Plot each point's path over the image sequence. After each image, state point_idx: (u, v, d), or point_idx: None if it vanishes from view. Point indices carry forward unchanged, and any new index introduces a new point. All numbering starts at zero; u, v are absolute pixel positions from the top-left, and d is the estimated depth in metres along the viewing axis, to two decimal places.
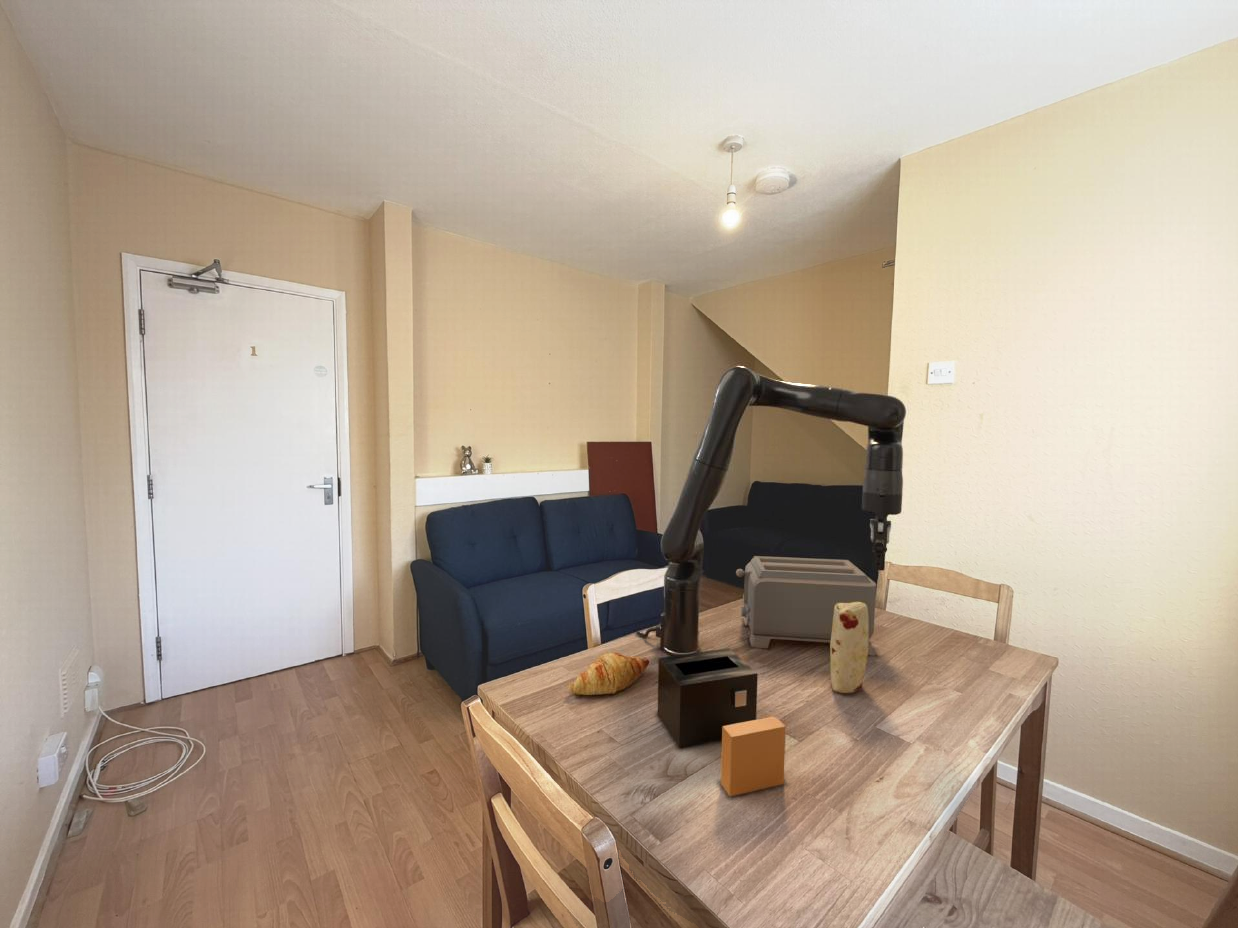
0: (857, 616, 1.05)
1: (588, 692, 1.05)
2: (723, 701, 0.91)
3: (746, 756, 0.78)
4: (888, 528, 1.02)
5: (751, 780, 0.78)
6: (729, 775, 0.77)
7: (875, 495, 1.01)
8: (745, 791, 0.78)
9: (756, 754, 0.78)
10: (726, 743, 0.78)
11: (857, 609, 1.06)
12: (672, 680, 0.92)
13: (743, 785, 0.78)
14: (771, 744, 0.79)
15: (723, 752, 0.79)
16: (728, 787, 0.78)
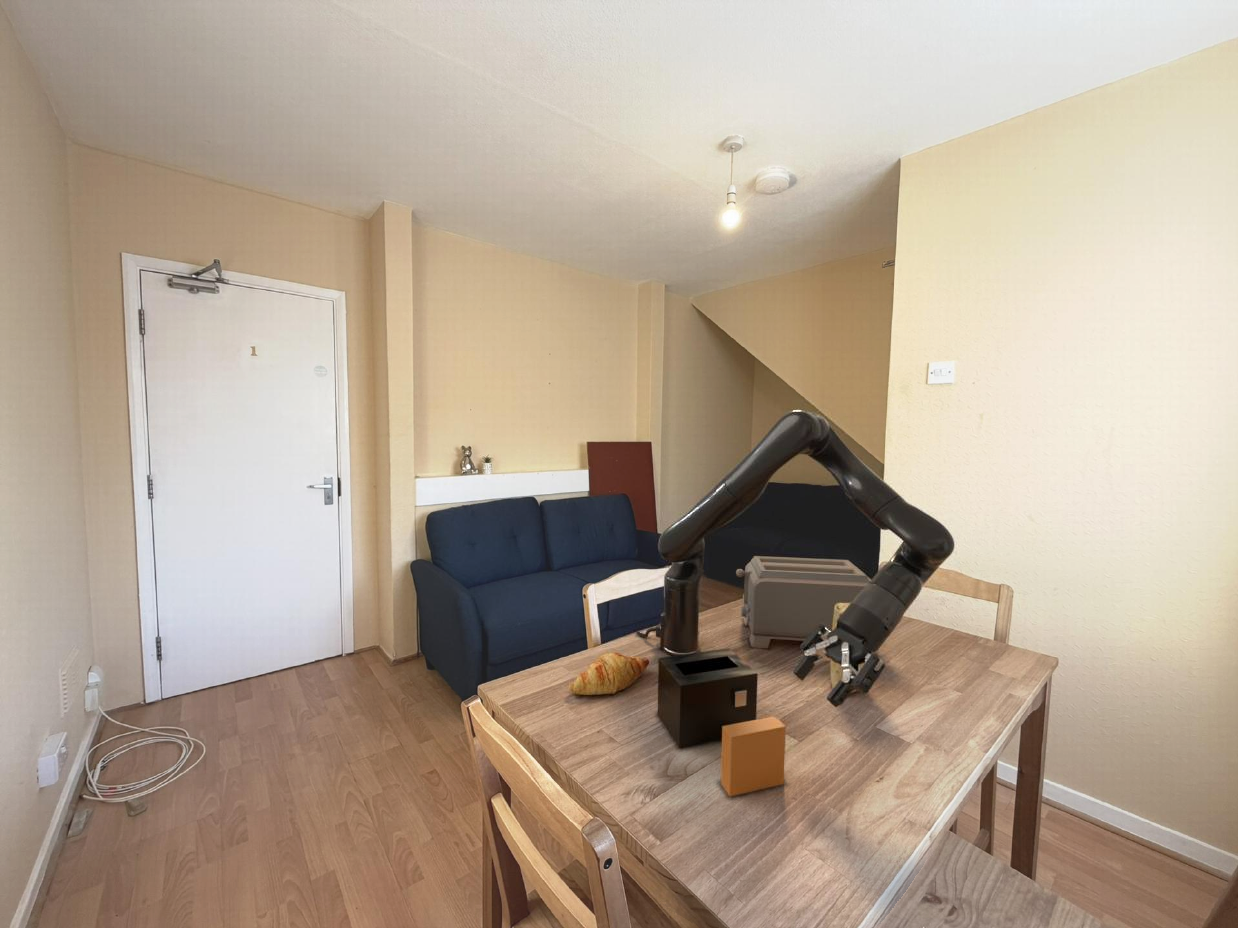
0: None
1: (588, 692, 1.05)
2: (723, 701, 0.91)
3: (746, 756, 0.78)
4: None
5: (751, 780, 0.78)
6: (729, 775, 0.77)
7: (881, 623, 0.81)
8: (745, 791, 0.78)
9: (756, 754, 0.78)
10: (726, 743, 0.78)
11: None
12: (672, 680, 0.92)
13: (743, 785, 0.78)
14: (771, 744, 0.79)
15: (723, 752, 0.79)
16: (728, 787, 0.78)
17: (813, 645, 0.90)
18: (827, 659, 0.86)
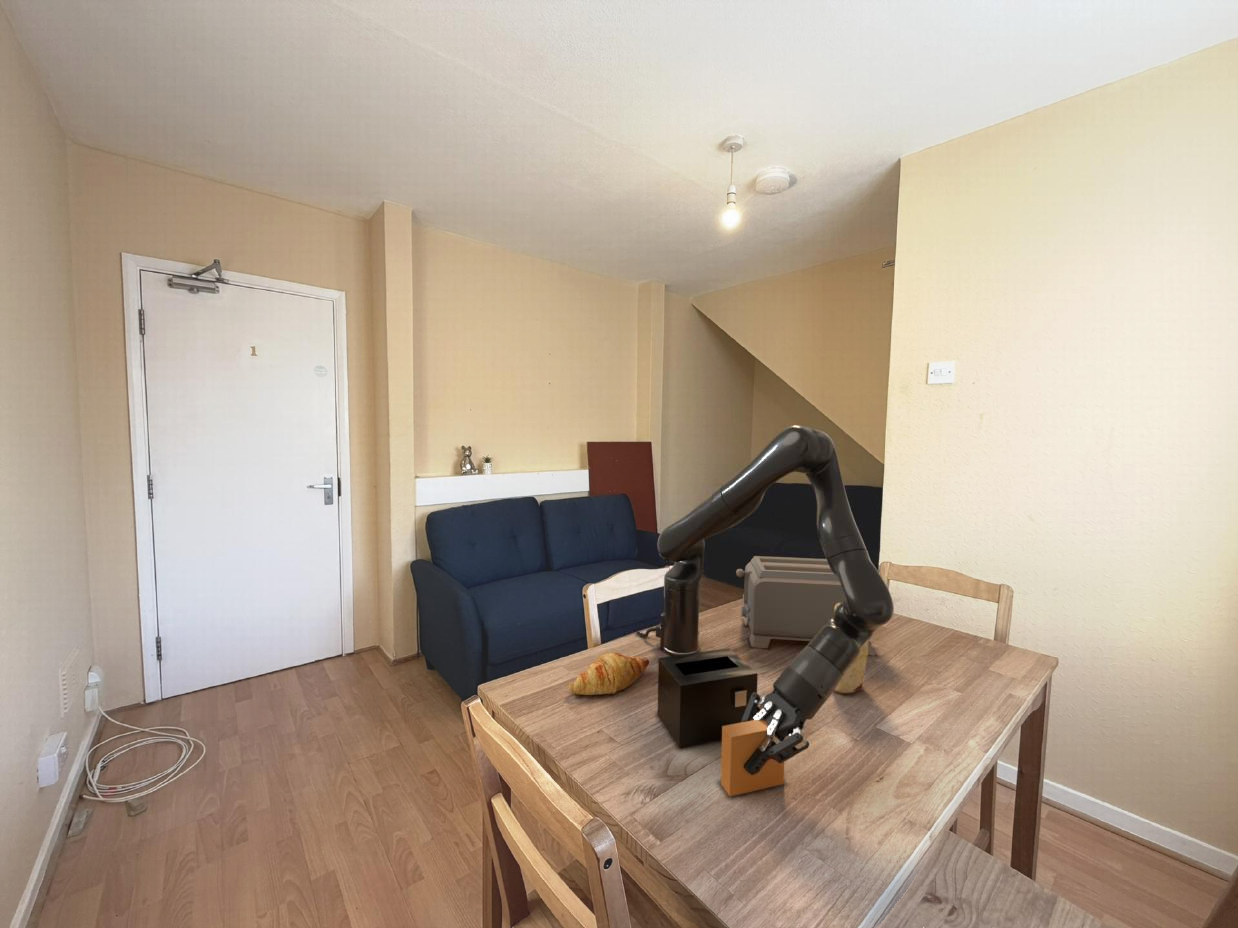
0: None
1: (588, 692, 1.05)
2: (723, 701, 0.91)
3: (746, 756, 0.78)
4: None
5: (751, 780, 0.78)
6: (729, 775, 0.77)
7: (815, 691, 0.78)
8: (745, 791, 0.78)
9: None
10: (726, 743, 0.78)
11: None
12: (672, 680, 0.92)
13: (743, 785, 0.78)
14: (771, 744, 0.79)
15: (723, 752, 0.79)
16: (728, 787, 0.78)
17: (752, 719, 0.85)
18: None
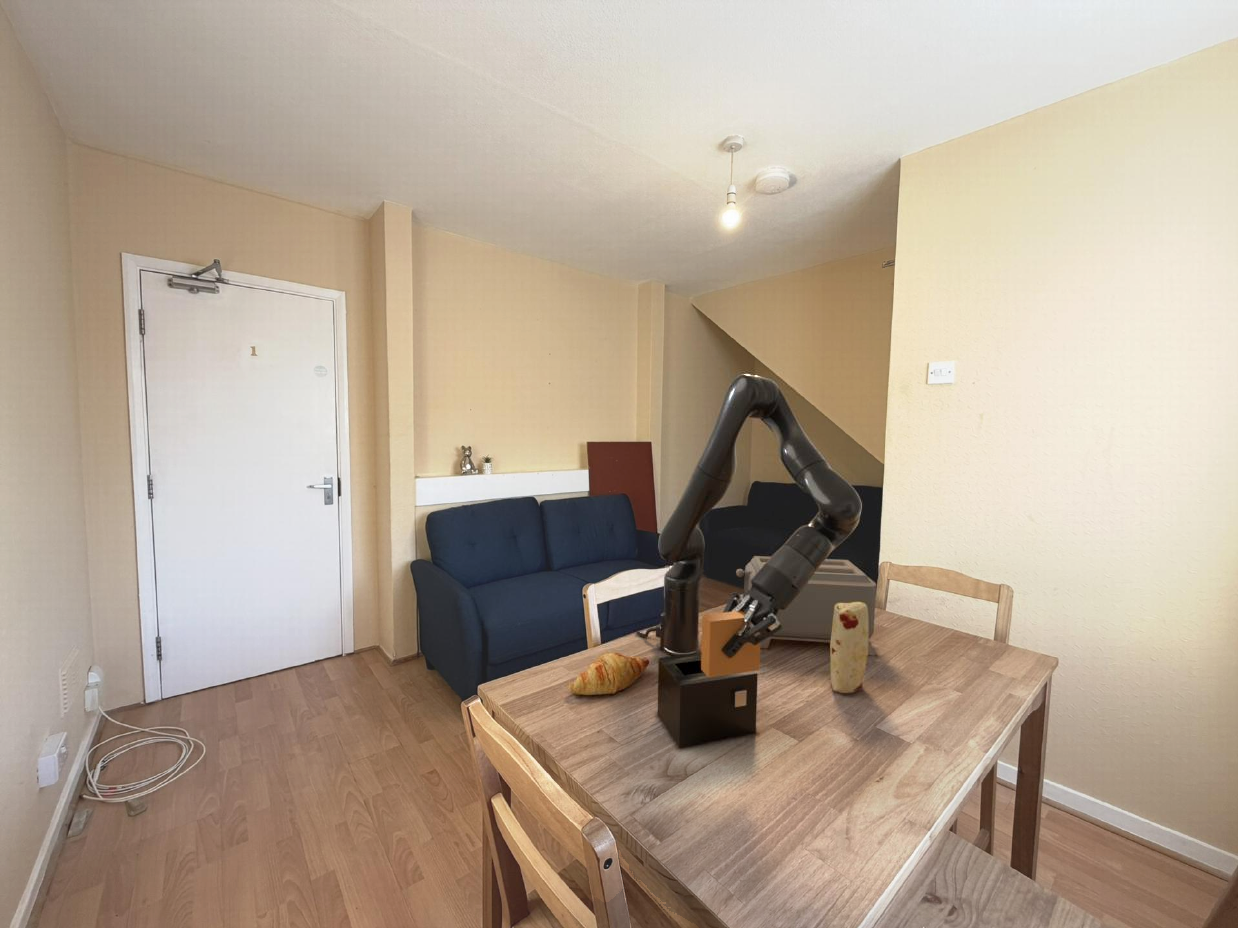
0: (857, 616, 1.05)
1: (588, 692, 1.05)
2: (723, 701, 0.91)
3: (724, 641, 0.84)
4: None
5: (728, 664, 0.84)
6: (708, 658, 0.83)
7: (788, 581, 0.84)
8: (723, 674, 0.84)
9: None
10: (706, 629, 0.84)
11: (857, 609, 1.06)
12: (672, 680, 0.92)
13: (721, 668, 0.84)
14: None
15: (703, 639, 0.85)
16: (707, 669, 0.84)
17: None
18: None
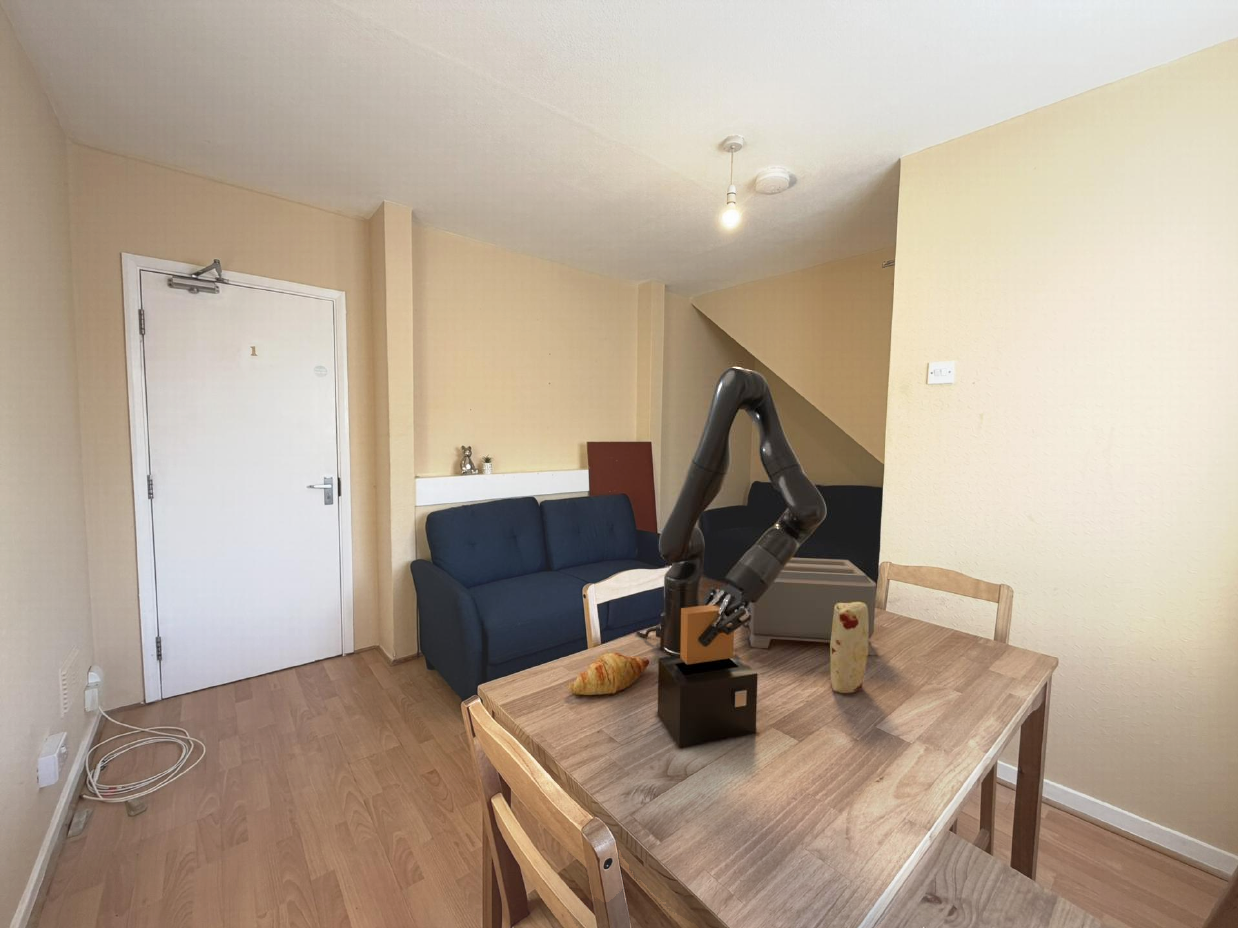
0: (857, 616, 1.05)
1: (588, 692, 1.05)
2: (723, 701, 0.91)
3: (700, 631, 0.93)
4: None
5: (704, 652, 0.93)
6: (686, 646, 0.92)
7: (758, 577, 0.93)
8: (700, 661, 0.93)
9: None
10: (684, 621, 0.93)
11: (857, 609, 1.06)
12: (672, 680, 0.92)
13: (698, 656, 0.93)
14: None
15: (682, 630, 0.94)
16: (685, 657, 0.93)
17: None
18: None
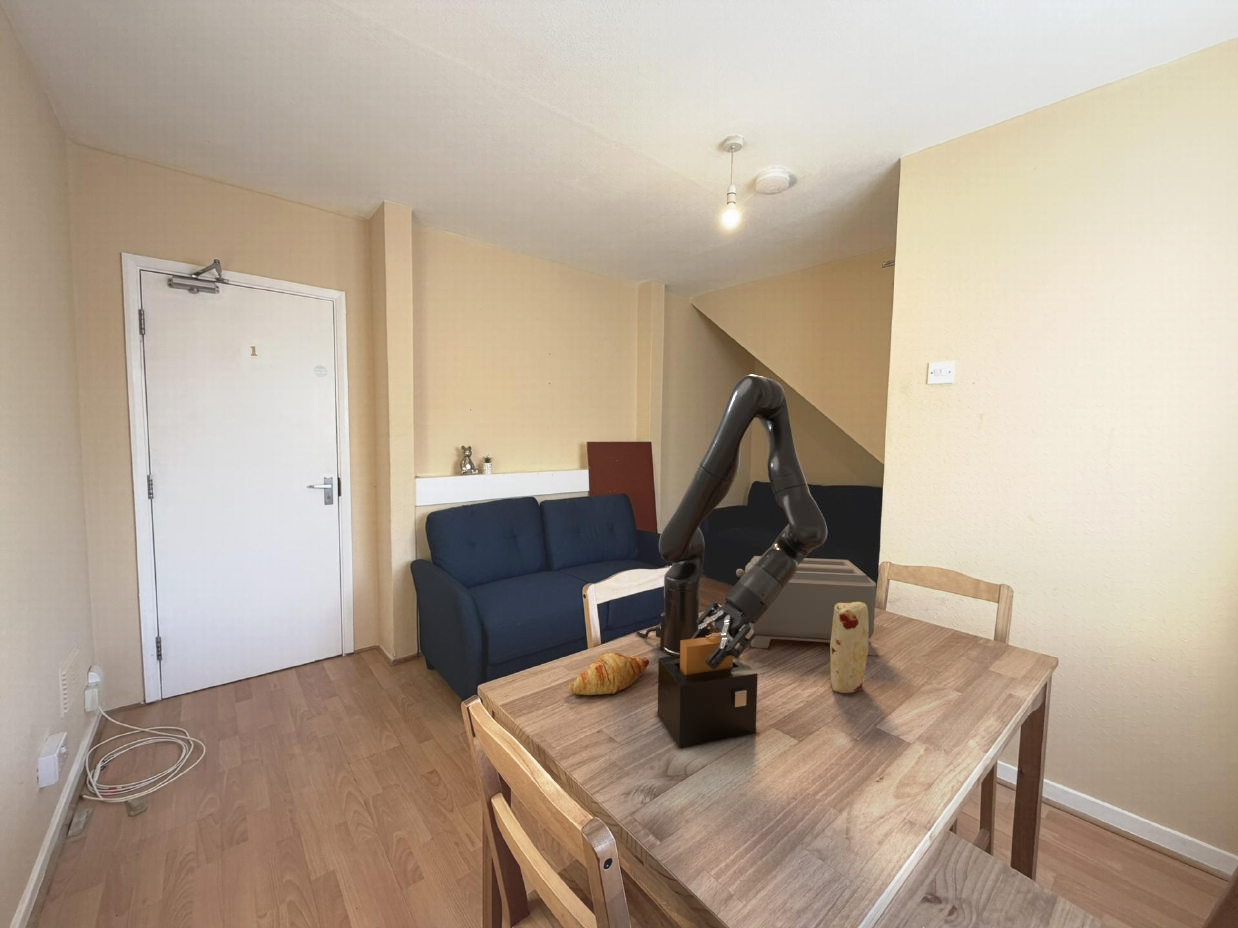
0: (857, 616, 1.05)
1: (588, 692, 1.05)
2: (723, 701, 0.91)
3: (700, 664, 0.93)
4: None
5: None
6: None
7: (757, 598, 0.93)
8: None
9: None
10: (683, 653, 0.94)
11: (857, 609, 1.06)
12: (672, 680, 0.92)
13: None
14: None
15: (681, 662, 0.95)
16: None
17: None
18: (717, 631, 0.99)
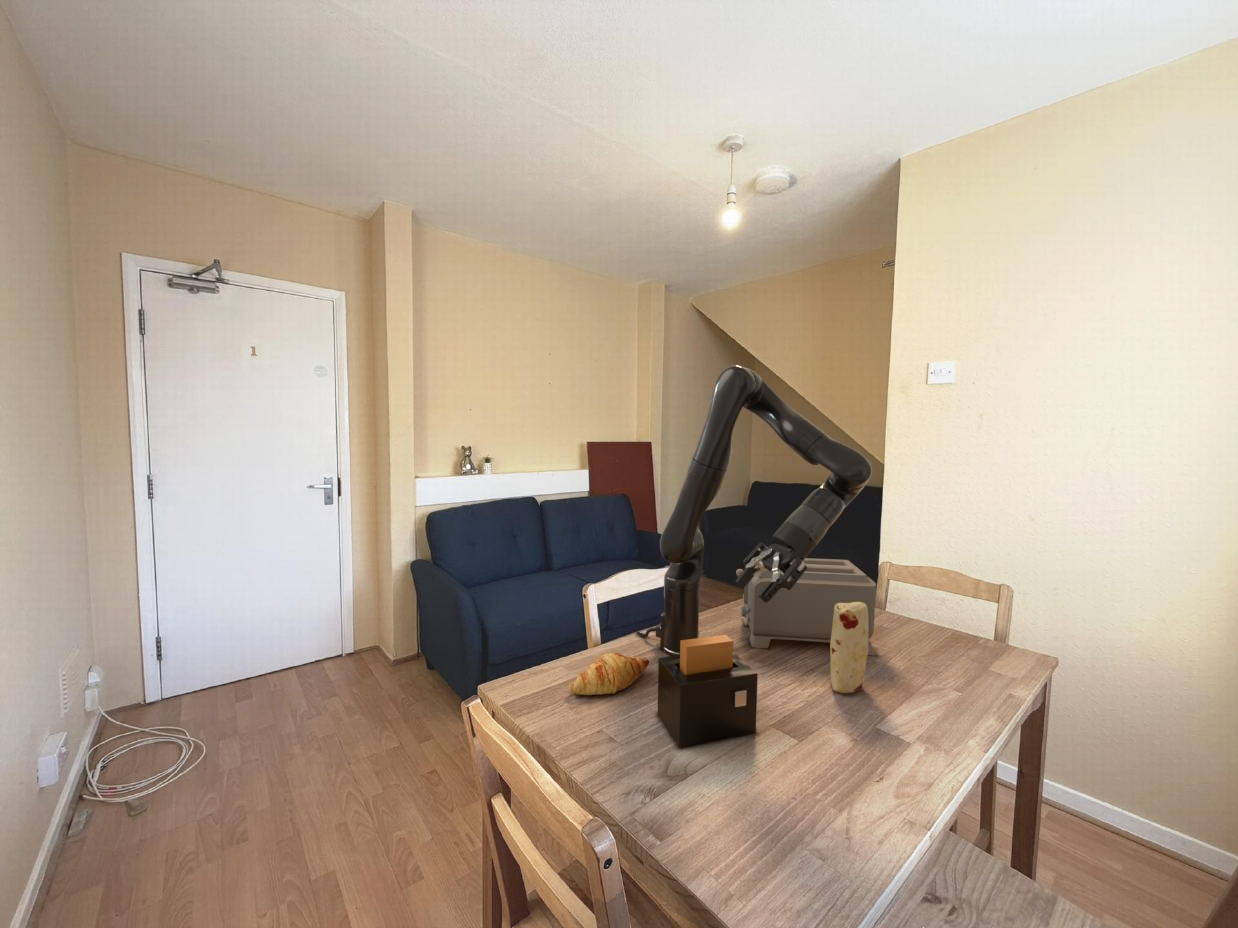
0: (857, 616, 1.05)
1: (588, 692, 1.05)
2: (723, 701, 0.91)
3: (700, 664, 0.93)
4: None
5: None
6: None
7: (806, 535, 0.96)
8: None
9: (707, 662, 0.94)
10: (683, 653, 0.94)
11: (857, 609, 1.06)
12: (672, 680, 0.92)
13: None
14: (721, 655, 0.95)
15: (681, 662, 0.95)
16: None
17: None
18: (764, 570, 1.01)
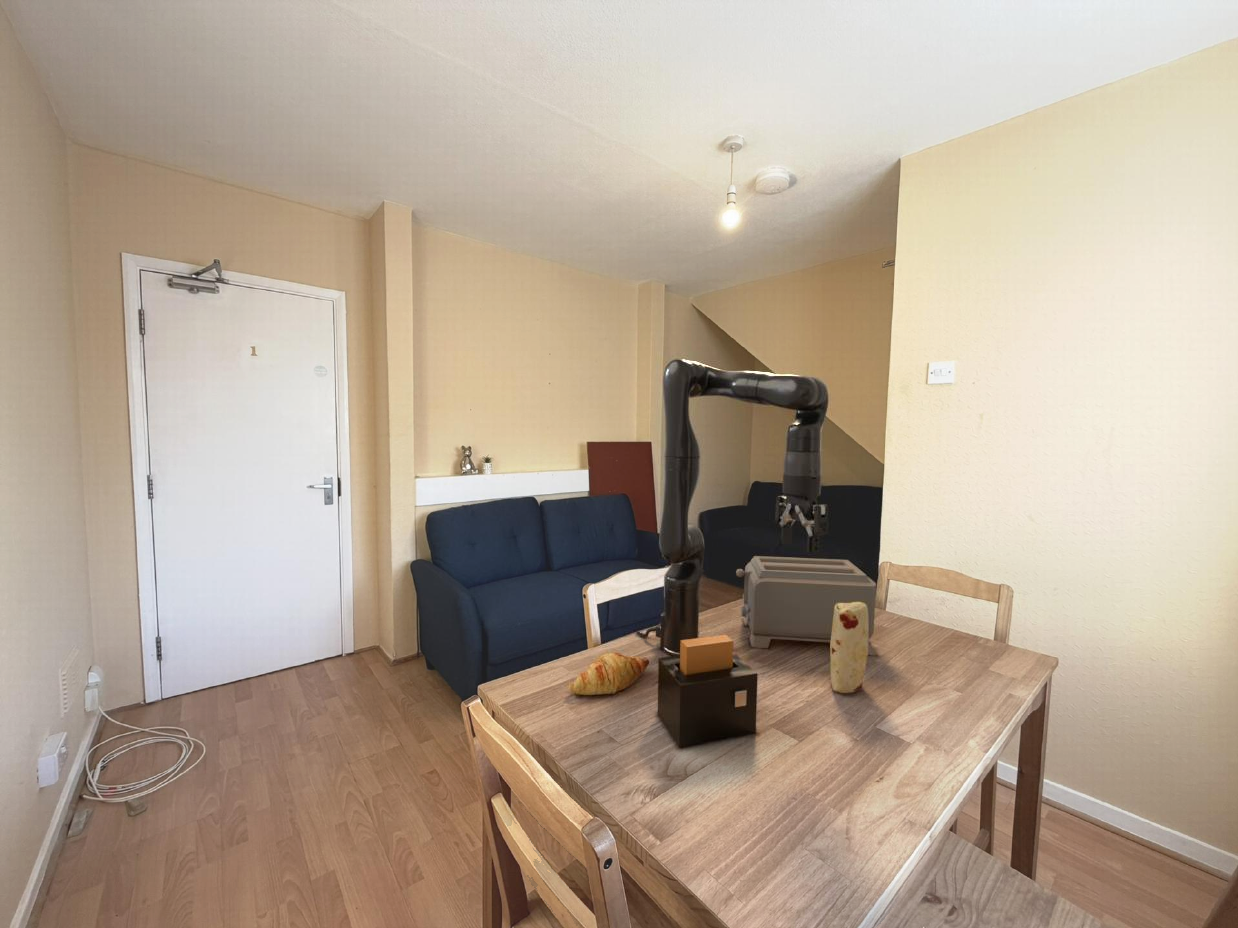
0: (857, 616, 1.05)
1: (588, 692, 1.05)
2: (723, 701, 0.91)
3: (700, 664, 0.93)
4: None
5: None
6: None
7: (808, 478, 0.98)
8: None
9: (707, 662, 0.94)
10: (683, 653, 0.94)
11: (857, 609, 1.06)
12: (672, 680, 0.92)
13: None
14: (721, 655, 0.95)
15: (681, 662, 0.95)
16: None
17: (783, 512, 1.09)
18: None
